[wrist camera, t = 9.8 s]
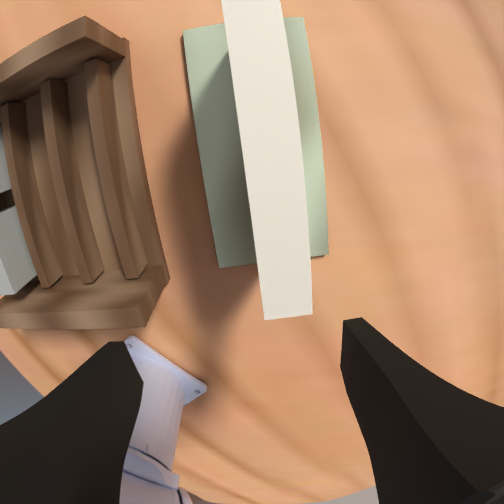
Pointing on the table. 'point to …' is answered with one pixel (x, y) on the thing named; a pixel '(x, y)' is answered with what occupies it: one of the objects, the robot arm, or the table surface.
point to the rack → (124, 172)
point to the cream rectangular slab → (271, 153)
